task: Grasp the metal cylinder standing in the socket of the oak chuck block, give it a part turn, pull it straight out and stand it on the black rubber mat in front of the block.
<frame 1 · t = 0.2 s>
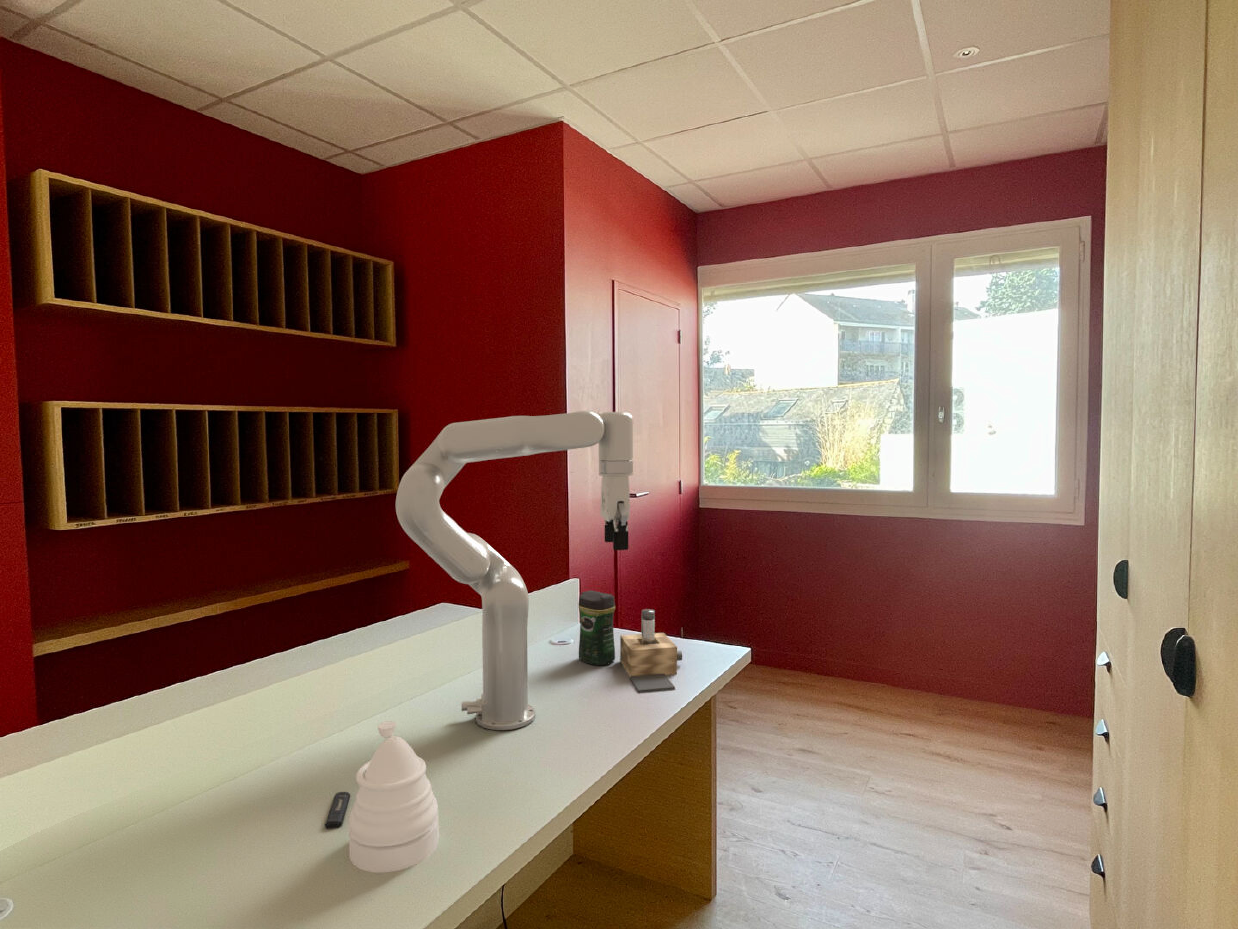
hand: (616, 545, 151), 37 cm above the table, tool pointing down, fingers open, 9 cm apart
metal cylinder: (647, 656, 178), point 3 cm above the table, touching chuck block
coffee jar: (596, 661, 184), on the table
mat: (651, 684, 167), on the table
honey pot: (394, 846, 104), on the table
chuck block: (647, 667, 179), on the table
usb stick: (338, 815, 112), on the table
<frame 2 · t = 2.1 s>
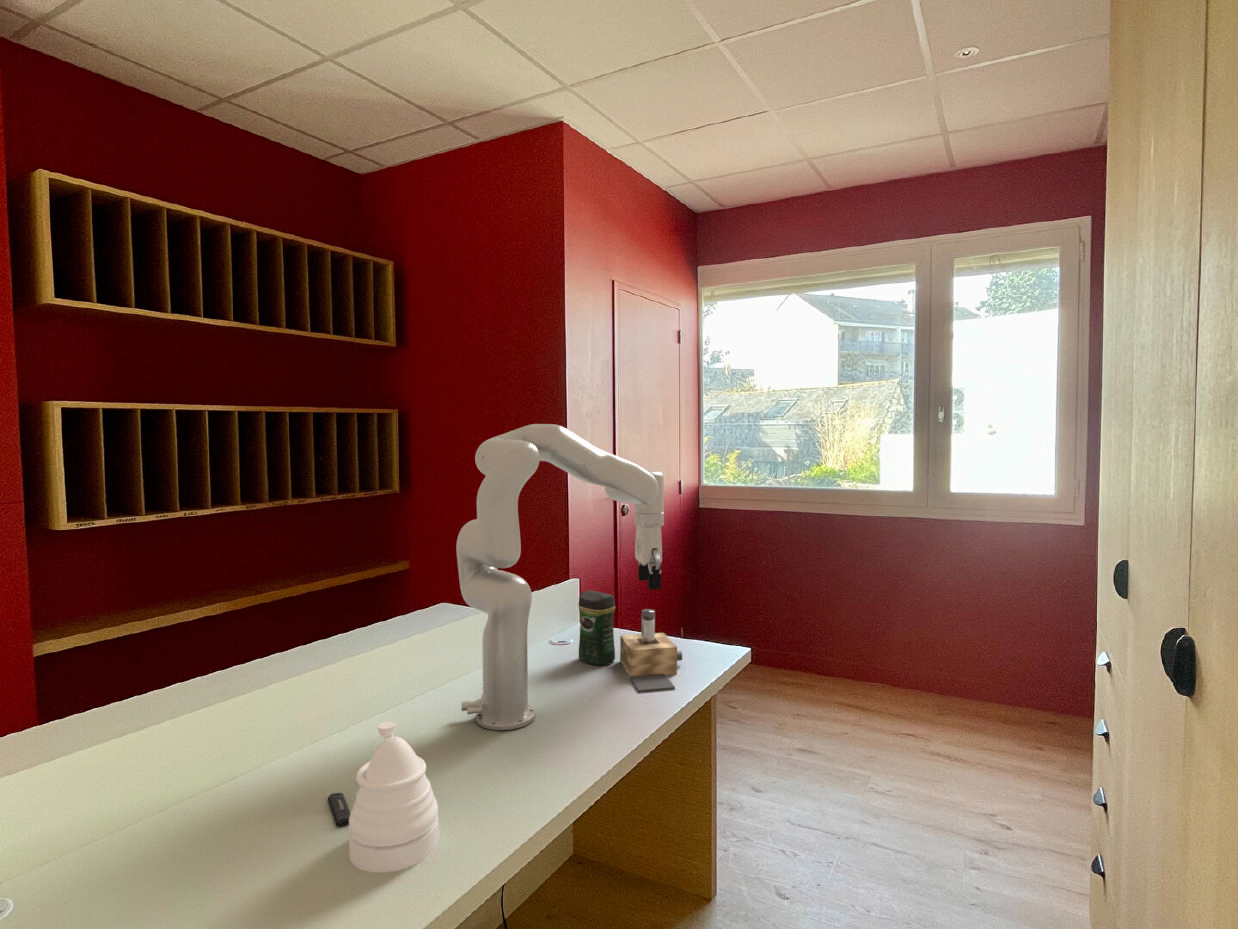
hand: (649, 584, 178), 22 cm above the table, tool pointing down, fingers open, 9 cm apart
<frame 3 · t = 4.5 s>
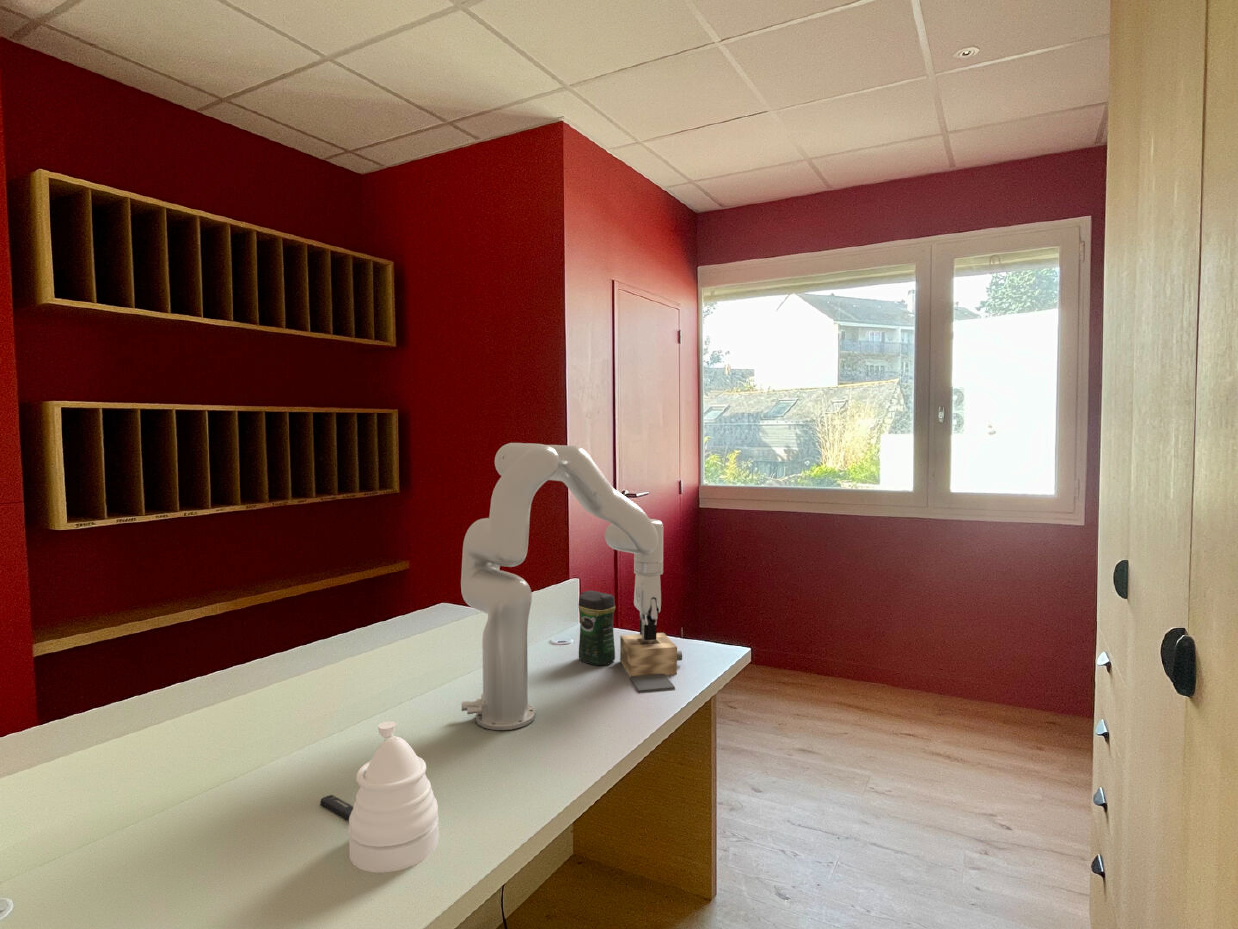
hand: (648, 636, 178), 8 cm above the table, tool pointing down, fingers closed on metal cylinder, 3 cm apart
metal cylinder: (647, 656, 178), point 3 cm above the table, touching chuck block, gripper
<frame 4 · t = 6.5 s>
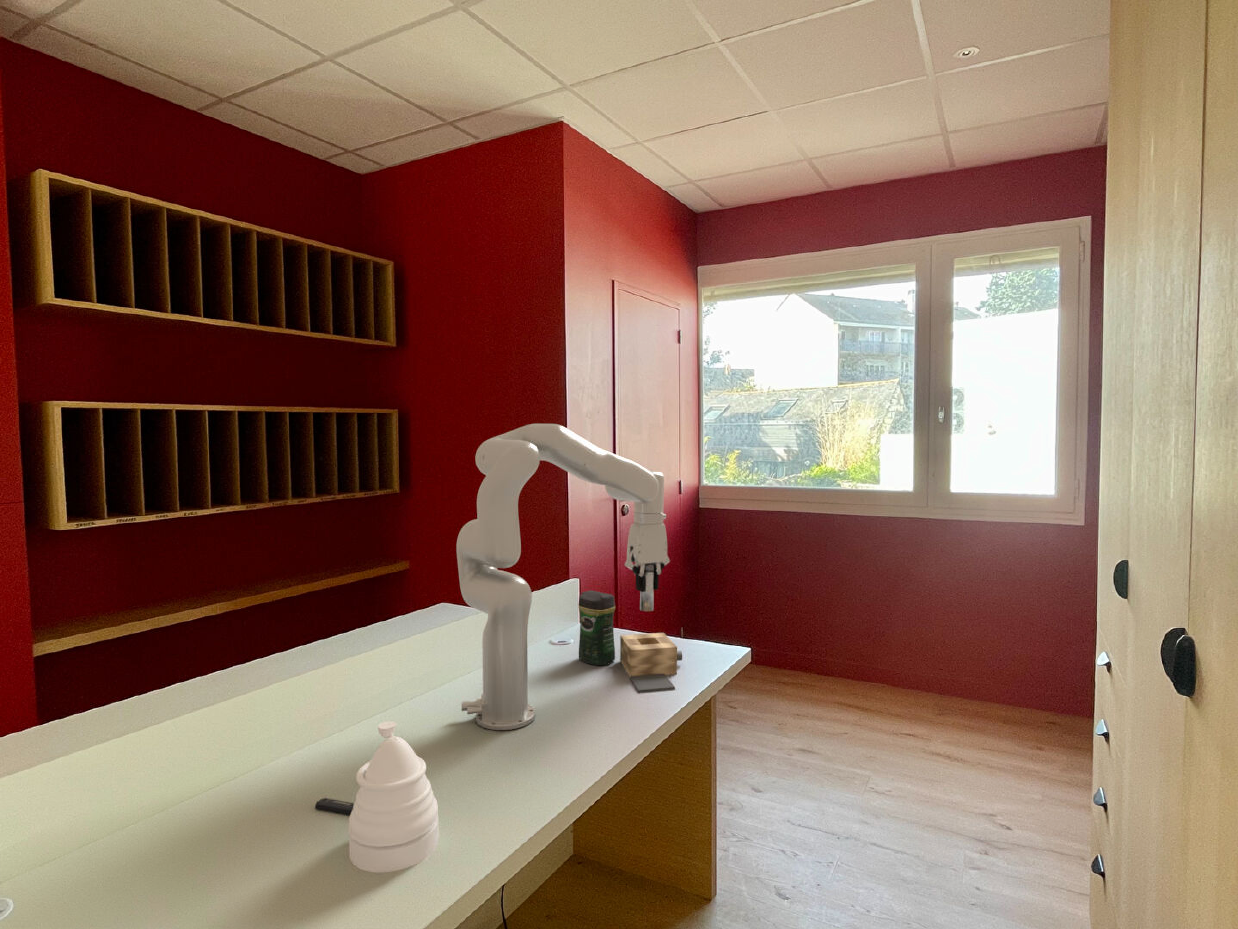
hand: (646, 589, 177), 21 cm above the table, tool pointing down, fingers closed on metal cylinder, 3 cm apart
metal cylinder: (646, 609, 177), point 15 cm above the table, touching gripper
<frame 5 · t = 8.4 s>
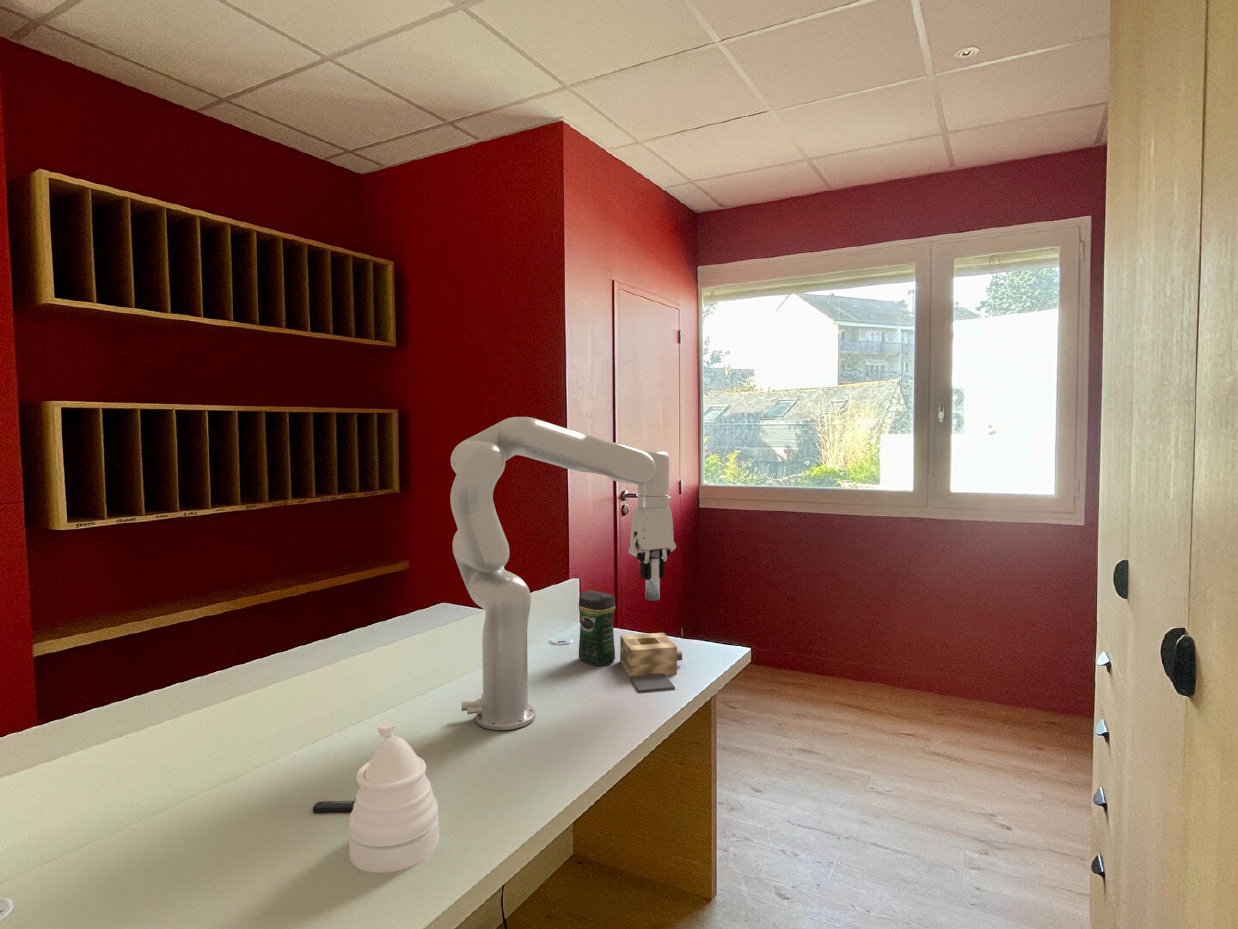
hand: (652, 577, 166), 26 cm above the table, tool pointing down, fingers closed on metal cylinder, 3 cm apart
metal cylinder: (652, 598, 166), point 21 cm above the table, touching gripper
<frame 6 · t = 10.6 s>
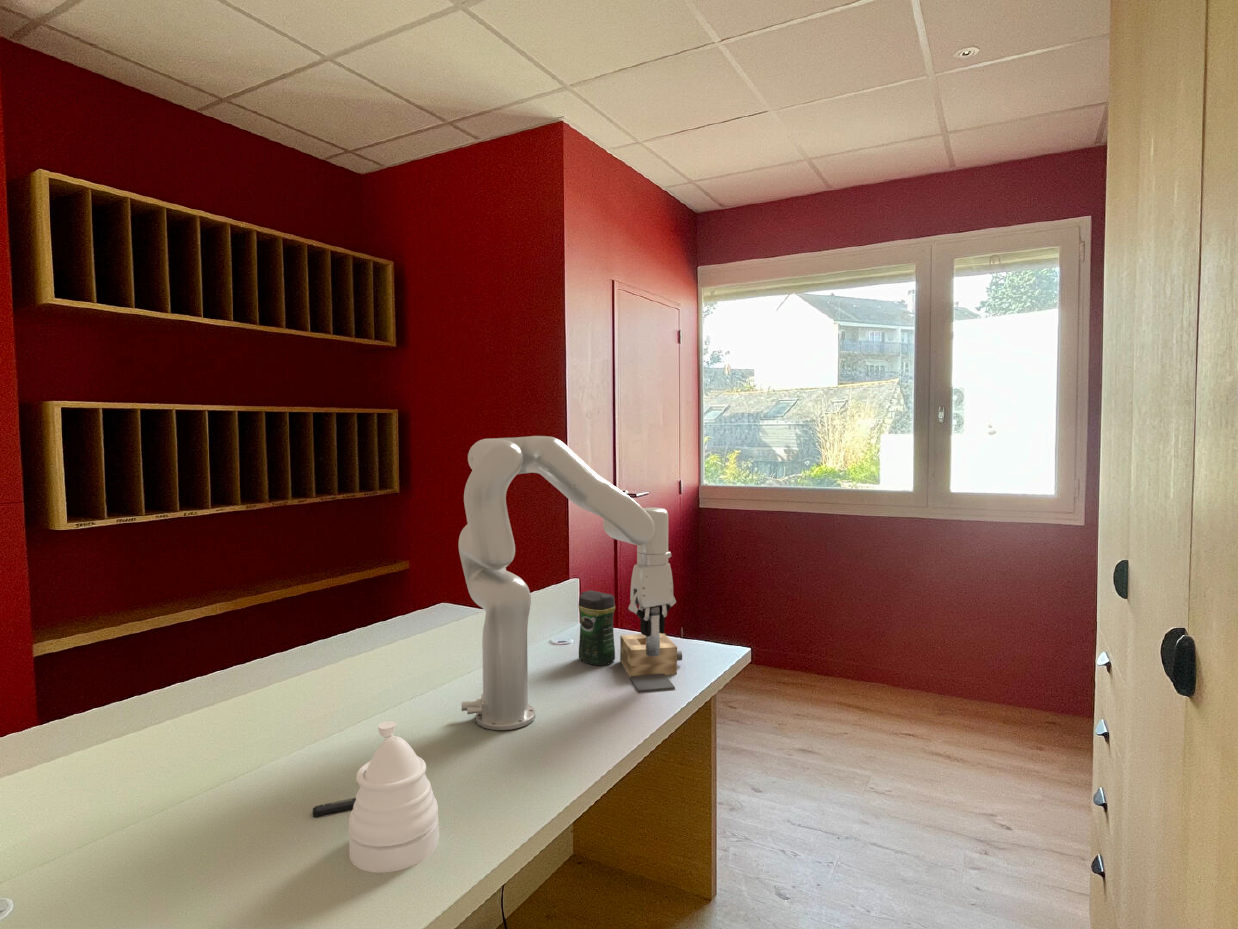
hand: (652, 632, 167), 13 cm above the table, tool pointing down, fingers closed on metal cylinder, 3 cm apart
metal cylinder: (652, 654, 167), point 7 cm above the table, touching gripper
when the fingers open (7 cm above the table, at t = 12.6 s): metal cylinder stays where it is, resting on mat.
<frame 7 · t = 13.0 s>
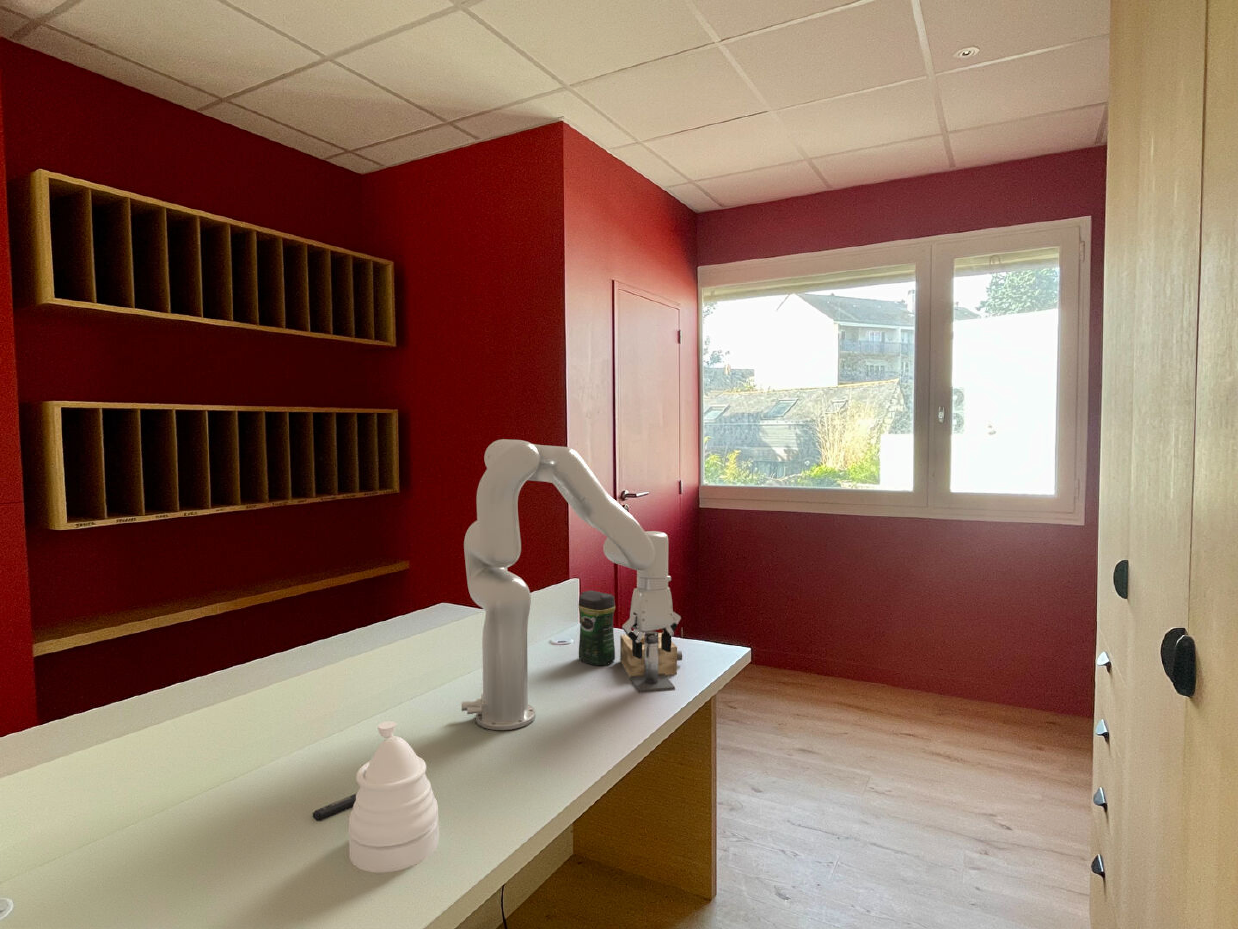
hand: (651, 653, 167), 8 cm above the table, tool pointing down, fingers open, 8 cm apart
metal cylinder: (651, 681, 167), point 1 cm above the table, touching mat
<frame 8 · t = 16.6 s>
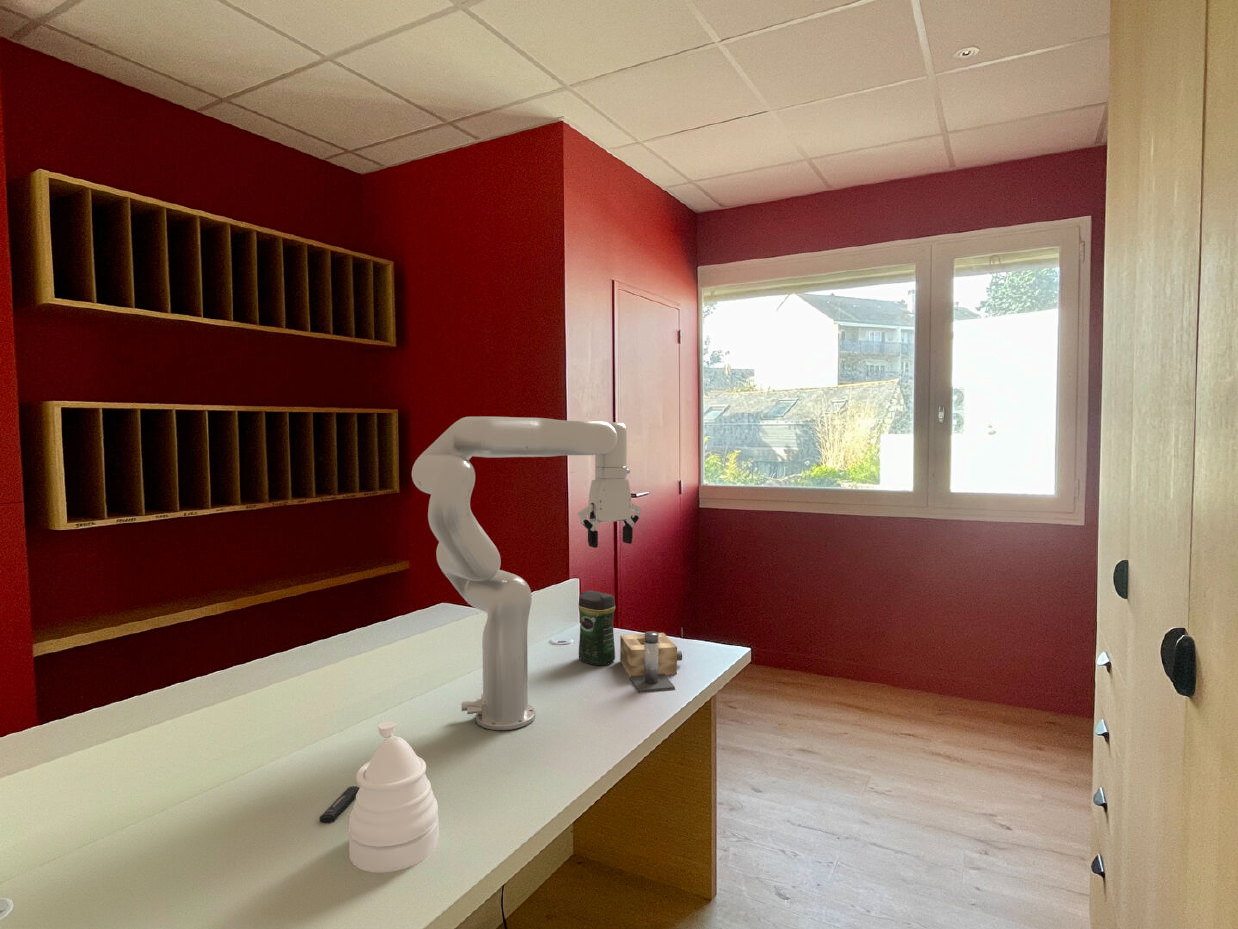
hand: (610, 544, 165), 34 cm above the table, tool pointing down, fingers open, 9 cm apart
at the end: metal cylinder inside the target area on the mat (0.2 cm from its centre), point 0.6 cm above the mat's base; metal cylinder tilted 0°; the gripper is holding nothing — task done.
